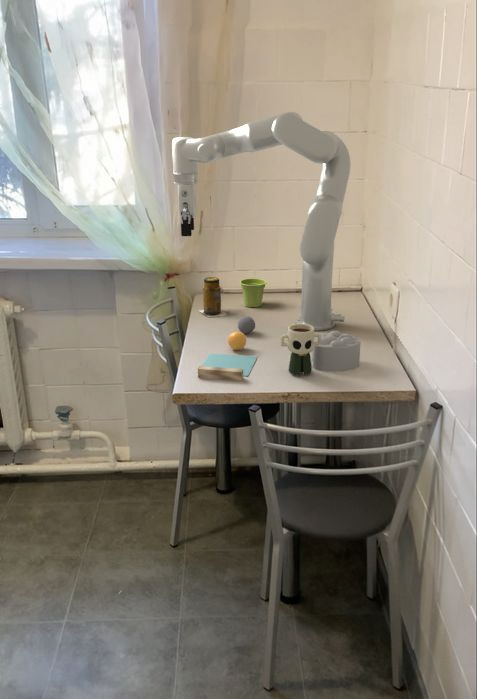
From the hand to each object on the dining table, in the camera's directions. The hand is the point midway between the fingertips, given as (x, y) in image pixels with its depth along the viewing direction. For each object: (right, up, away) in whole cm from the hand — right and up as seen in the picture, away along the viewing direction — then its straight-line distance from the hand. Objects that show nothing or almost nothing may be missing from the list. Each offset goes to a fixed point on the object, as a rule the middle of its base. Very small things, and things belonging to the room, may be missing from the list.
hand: (187, 232), depth 213 cm
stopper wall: (+12, -45, -36) cm, 59 cm away
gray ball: (+19, -30, -5) cm, 36 cm away
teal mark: (+13, -42, -28) cm, 52 cm away
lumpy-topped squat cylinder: (+44, -42, -28) cm, 67 cm away
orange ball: (+16, -35, -18) cm, 42 cm away
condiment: (+7, -25, +15) cm, 30 cm away
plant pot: (+22, -22, +23) cm, 38 cm away
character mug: (+33, -44, -34) cm, 65 cm away
